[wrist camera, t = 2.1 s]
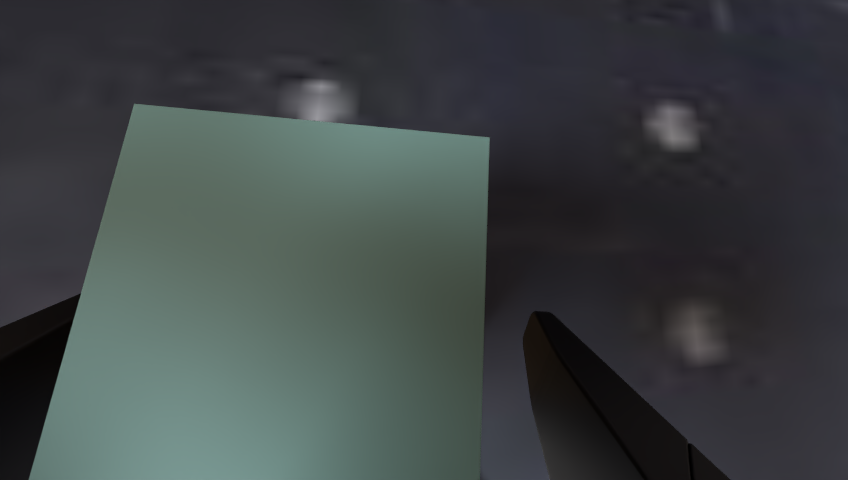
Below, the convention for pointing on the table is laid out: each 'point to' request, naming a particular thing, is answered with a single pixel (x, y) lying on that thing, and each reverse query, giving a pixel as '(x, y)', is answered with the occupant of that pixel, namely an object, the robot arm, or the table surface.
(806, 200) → the table surface
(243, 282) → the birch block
